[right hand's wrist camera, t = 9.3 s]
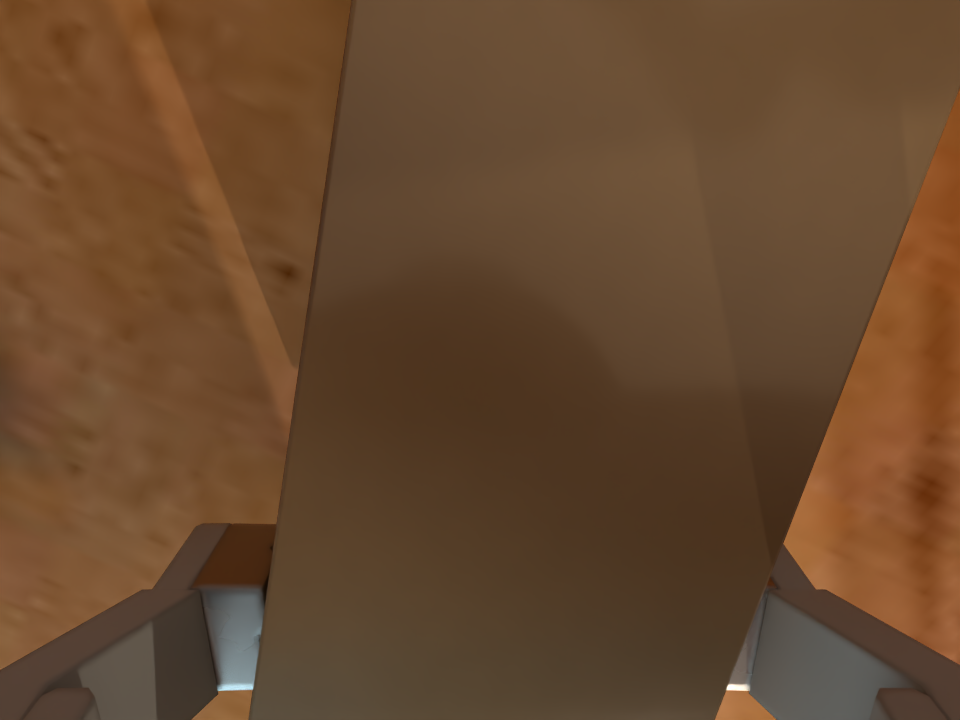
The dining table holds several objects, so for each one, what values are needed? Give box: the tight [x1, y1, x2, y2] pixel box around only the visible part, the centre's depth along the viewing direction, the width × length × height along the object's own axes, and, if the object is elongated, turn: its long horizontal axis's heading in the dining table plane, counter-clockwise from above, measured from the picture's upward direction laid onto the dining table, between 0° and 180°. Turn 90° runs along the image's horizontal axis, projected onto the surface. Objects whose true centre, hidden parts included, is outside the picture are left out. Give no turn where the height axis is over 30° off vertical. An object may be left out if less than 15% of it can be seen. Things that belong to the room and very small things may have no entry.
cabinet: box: [248, 0, 960, 720], centre depth 11 cm, size 18×6×10 cm, turn 168°
